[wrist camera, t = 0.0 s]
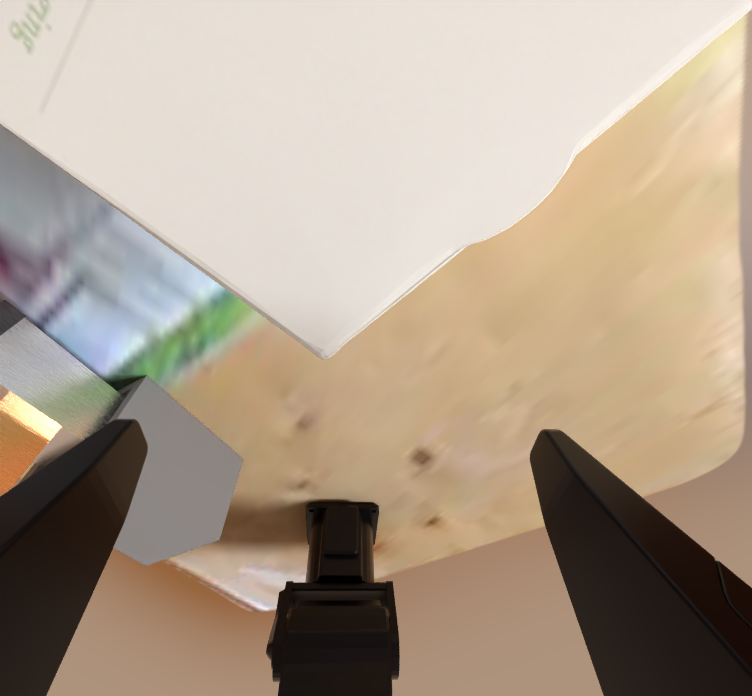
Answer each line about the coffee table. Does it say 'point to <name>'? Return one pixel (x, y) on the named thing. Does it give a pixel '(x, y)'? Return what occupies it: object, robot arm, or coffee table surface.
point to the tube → (43, 398)
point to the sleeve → (173, 478)
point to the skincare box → (332, 126)
